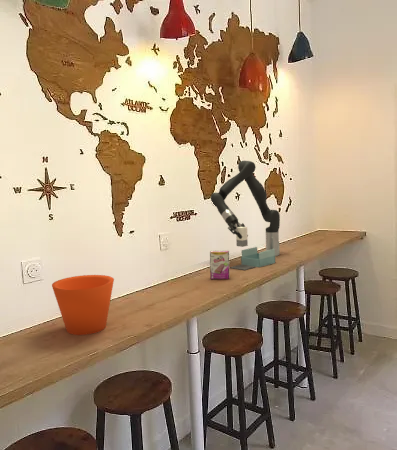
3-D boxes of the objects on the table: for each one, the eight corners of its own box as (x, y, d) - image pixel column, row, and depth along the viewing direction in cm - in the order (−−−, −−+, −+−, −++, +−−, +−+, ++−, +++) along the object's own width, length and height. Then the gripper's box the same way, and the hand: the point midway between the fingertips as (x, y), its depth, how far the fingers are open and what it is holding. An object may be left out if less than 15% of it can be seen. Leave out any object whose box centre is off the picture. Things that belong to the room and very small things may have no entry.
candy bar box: (210, 279, 270) (209, 251, 268) (211, 277, 275) (210, 250, 273) (229, 279, 269) (228, 251, 267) (229, 277, 273) (229, 250, 272)
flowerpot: (68, 343, 176) (64, 293, 174) (47, 327, 196) (43, 281, 194) (127, 328, 190) (124, 281, 188) (101, 314, 211) (99, 272, 208)
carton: (257, 260, 320) (257, 246, 319) (275, 262, 310) (275, 248, 308) (241, 264, 309) (241, 250, 307) (259, 267, 298) (259, 252, 297)
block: (241, 245, 300) (241, 226, 298) (247, 245, 296) (247, 227, 295) (236, 246, 296) (236, 227, 295) (242, 246, 293) (242, 228, 291)
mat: (241, 265, 306) (241, 264, 306) (255, 267, 297) (255, 266, 297) (230, 268, 298) (230, 267, 298) (244, 270, 290) (244, 269, 290)
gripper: (225, 214, 294) (239, 235, 287) (239, 212, 304) (254, 232, 297) (219, 222, 299) (233, 242, 292) (234, 220, 309) (248, 239, 302)
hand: (244, 237), depth 294 cm, fingers closed on block, 5 cm apart
